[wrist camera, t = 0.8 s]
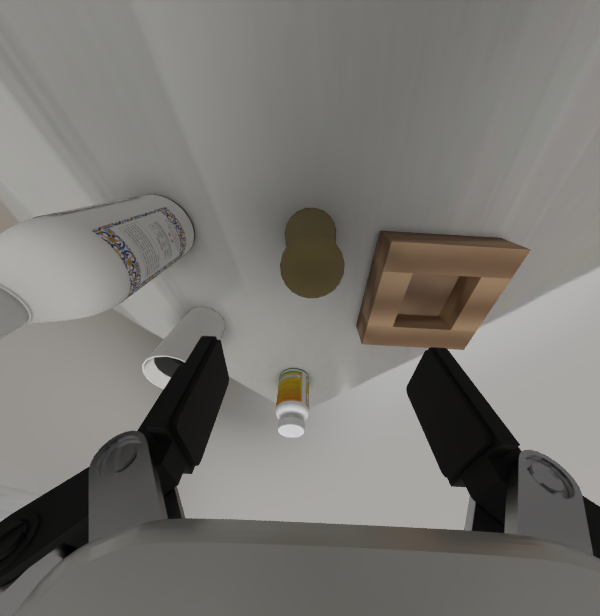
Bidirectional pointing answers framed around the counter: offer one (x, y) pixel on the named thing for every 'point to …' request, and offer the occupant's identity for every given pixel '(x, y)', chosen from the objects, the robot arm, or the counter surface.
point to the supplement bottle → (292, 402)
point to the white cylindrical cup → (181, 344)
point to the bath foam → (87, 258)
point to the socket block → (434, 288)
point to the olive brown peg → (311, 254)
